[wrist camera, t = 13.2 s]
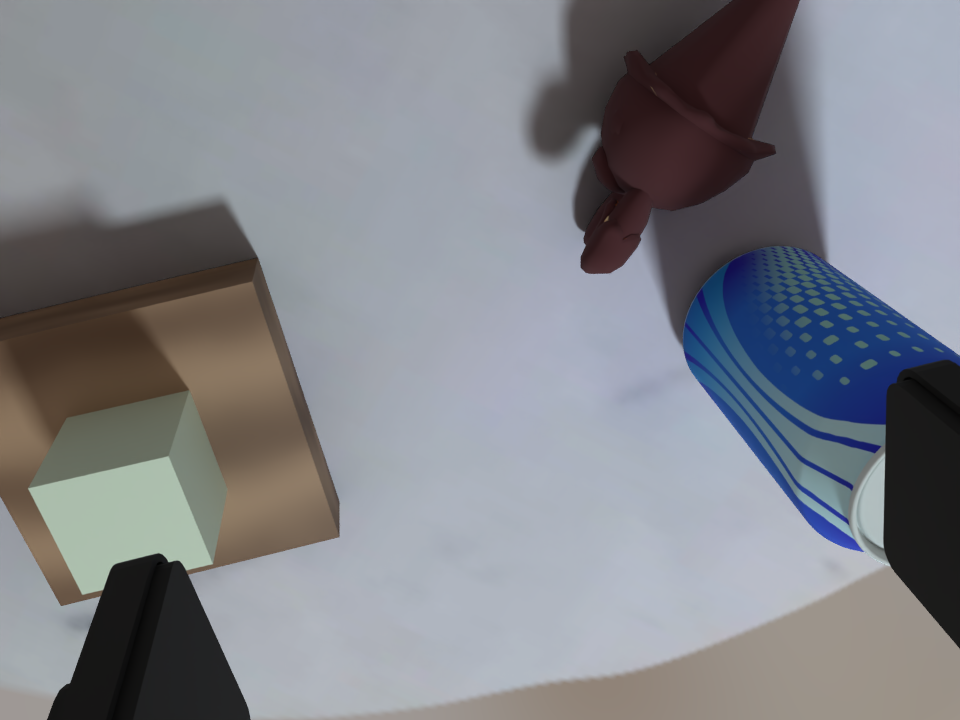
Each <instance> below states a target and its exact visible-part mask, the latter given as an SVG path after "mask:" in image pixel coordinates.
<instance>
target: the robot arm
mask: <svg viewBox="0 0 960 720" xmlns="http://www.w3.org/2000/svg"><path fill="white" fill-rule="evenodd" d="M883 545H884V551H885V554H886V557H887V560H888V562H889V564H890V566H891V567H892V569H893V570H894V572H895V573H896V574H897V575H898V576H899V578H900V579H901V580H902V581H903V582H904V583H905V585H906V586H907V587H908V588H909V589H910V590H911V592H912V593H913V594H914V595H915V596H916V598H917V599H918V600H919V601H920V602H921V603H922V604H923V606H924V607H925V608H926V609H927V611H928V612H929V613H930V614H931V615H932V616H933V618H934V619H935V620H936V621H937V622H938V623H939V625H940V626H941V627H942V628H943V629H944V630H945V632H946V633H947V634H948V635H949V636H950V638H951V639H952V640H953V641H954V642H955V643H956V645H957V646H958V647H959V648H960V366H959V365H958V364H956V363H955V362H953V361H950V360H940V361H936V362H932V363H928V364H923V365H919V366H915V367H911V368H907V369H904V370H902V371H901V372H900V373H899V375H898V377H897V383H893V384H891V385H890V386H889V387H888V389H887V395H886V435H885V481H884V527H883ZM47 720H250V714H249V710H248V707H247V704H246V702H245V699H244V697H243V695H242V693H241V691H240V688H239V686H238V684H237V682H236V680H235V677H234V675H233V673H232V671H231V669H230V666H229V664H228V662H227V660H226V657H225V655H224V653H223V651H222V649H221V646H220V644H219V642H218V640H217V638H216V635H215V633H214V631H213V629H212V627H211V624H210V622H209V620H208V618H207V616H206V613H205V611H204V609H203V607H202V605H201V602H200V600H199V598H198V596H197V594H196V591H195V589H194V587H193V585H192V583H191V580H190V578H189V576H188V574H187V571H186V569H185V567H184V566H183V564H182V563H181V562H180V561H177V560H176V561H172V562H168V560H167V559H166V557H165V556H164V555H163V554H160V553H157V554H153V555H148V556H144V557H140V558H136V559H132V560H128V561H124V562H120V563H116V564H115V565H113V566H112V568H111V570H110V572H109V575H108V578H107V580H106V583H105V586H104V589H103V592H102V595H101V597H100V600H99V603H98V606H97V609H96V612H95V615H94V617H93V620H92V623H91V626H90V629H89V632H88V634H87V637H86V640H85V643H84V646H83V649H82V651H81V654H80V657H79V660H78V663H77V666H76V668H75V671H74V674H73V677H72V680H71V683H70V684H66V685H65V686H64V687H63V688H62V689H61V690H60V691H59V692H58V694H57V696H56V698H55V700H54V702H53V705H52V708H51V711H50V713H49V716H48V719H47Z"/></svg>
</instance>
